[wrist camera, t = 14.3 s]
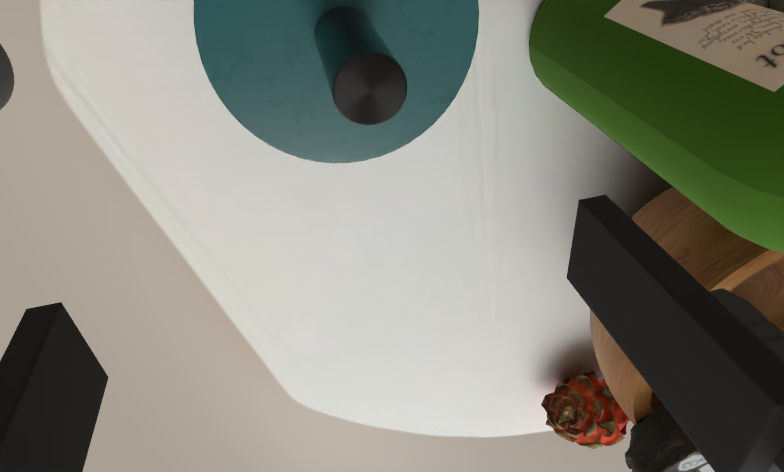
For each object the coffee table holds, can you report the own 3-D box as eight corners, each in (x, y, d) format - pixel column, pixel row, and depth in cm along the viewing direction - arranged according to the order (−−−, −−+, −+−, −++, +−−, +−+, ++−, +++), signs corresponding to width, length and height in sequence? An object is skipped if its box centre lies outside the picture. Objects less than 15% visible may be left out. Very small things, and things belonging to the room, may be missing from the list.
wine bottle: (641, -62, 34) (1837, 177, 8) (648, 63, 40) (1387, 445, 14) (514, -4, 35) (1272, 394, 9) (539, 112, 40) (1053, 570, 14)
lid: (186, 131, 27) (161, 222, 20) (210, -188, 20) (184, -215, 13) (425, 170, 32) (471, 256, 25) (511, -82, 25) (610, -61, 18)
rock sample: (839, 366, 40) (900, 421, 37) (737, 477, 49) (777, 531, 45) (644, 380, 36) (689, 444, 33) (571, 498, 45) (599, 559, 41)
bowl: (521, 341, 55) (593, 475, 43) (571, 118, 41) (702, 225, 29) (726, 311, 60) (844, 424, 48) (837, 99, 45) (1047, 185, 33)
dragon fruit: (520, 372, 61) (602, 352, 65) (529, 444, 61) (610, 420, 65) (568, 390, 53) (658, 366, 57) (578, 473, 53) (667, 443, 57)
